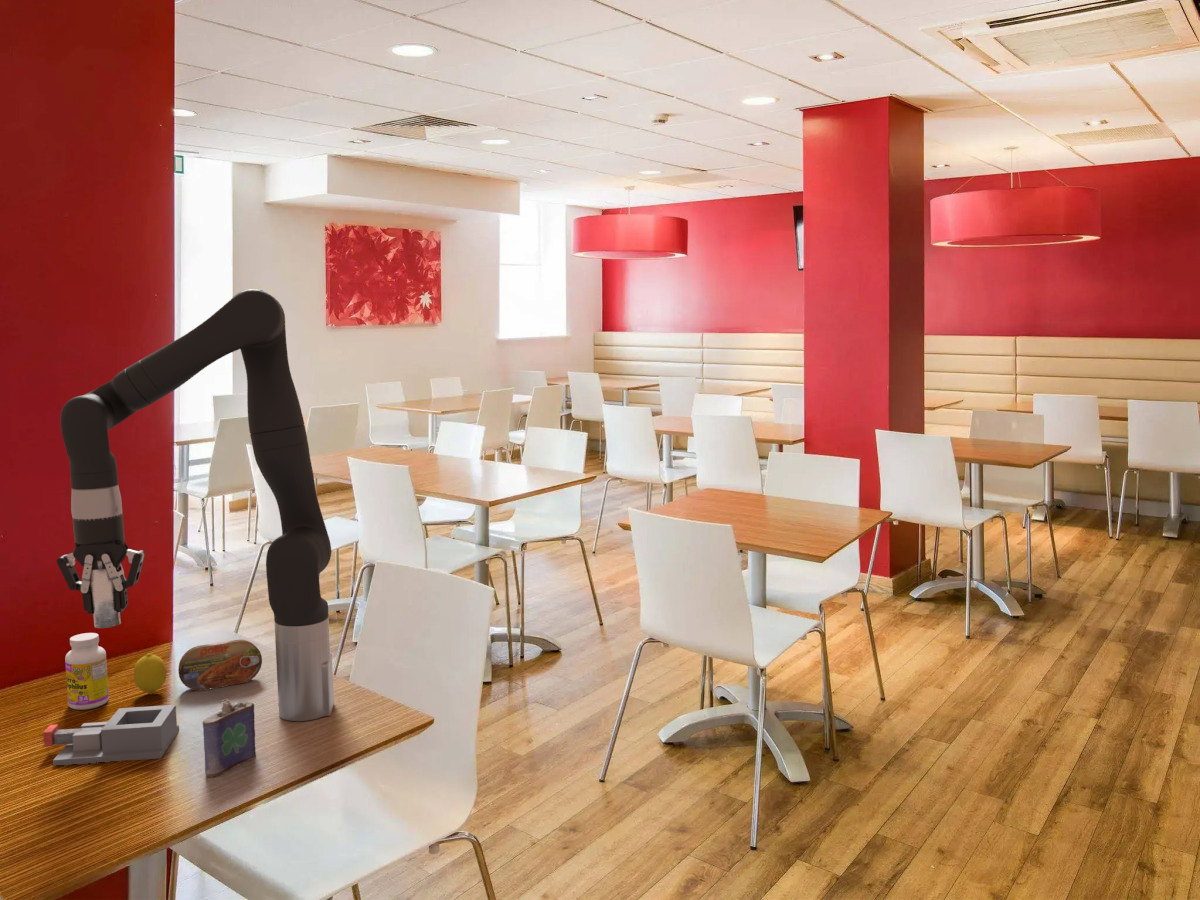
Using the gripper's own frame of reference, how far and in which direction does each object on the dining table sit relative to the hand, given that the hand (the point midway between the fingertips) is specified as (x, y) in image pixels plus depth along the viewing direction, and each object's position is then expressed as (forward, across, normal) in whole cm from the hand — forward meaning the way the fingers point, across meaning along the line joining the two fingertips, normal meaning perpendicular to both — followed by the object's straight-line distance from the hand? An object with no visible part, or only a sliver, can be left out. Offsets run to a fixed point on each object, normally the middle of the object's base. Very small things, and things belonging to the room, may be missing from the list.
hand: (106, 611), depth 164 cm
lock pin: (+19, +3, +9) cm, 21 cm away
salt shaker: (+2, 0, 0) cm, 2 cm away
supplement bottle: (+21, +9, -12) cm, 26 cm away
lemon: (+21, -1, -15) cm, 26 cm away
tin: (+21, -13, -18) cm, 31 cm away
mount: (+21, -3, +9) cm, 23 cm away
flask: (+21, -23, +18) cm, 36 cm away
